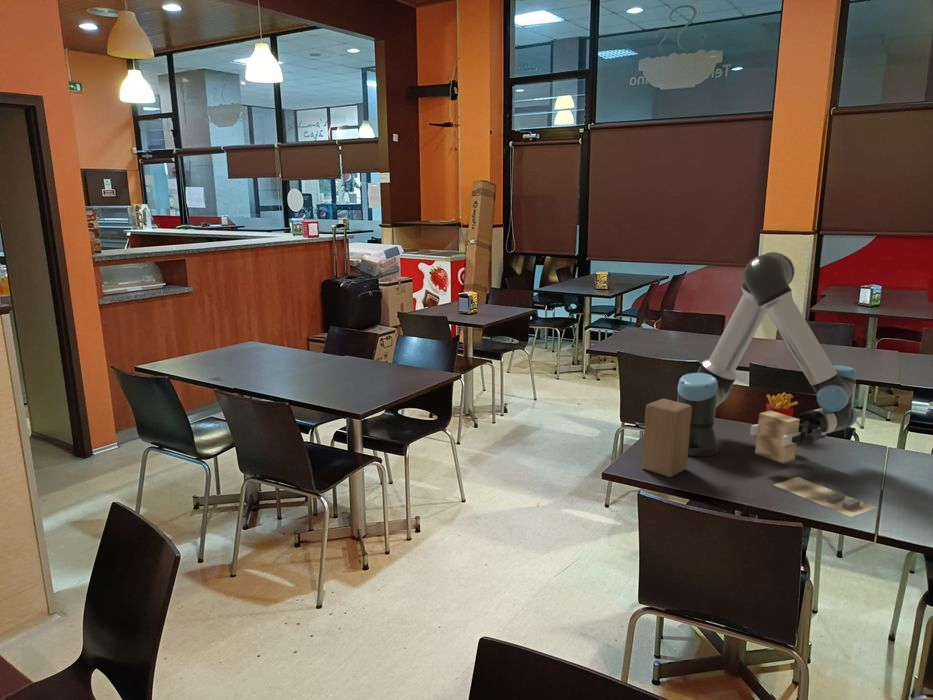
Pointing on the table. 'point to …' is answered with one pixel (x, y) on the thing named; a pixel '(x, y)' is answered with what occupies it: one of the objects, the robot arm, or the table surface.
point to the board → (821, 496)
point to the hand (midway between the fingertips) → (767, 435)
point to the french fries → (781, 404)
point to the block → (666, 437)
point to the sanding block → (776, 436)
